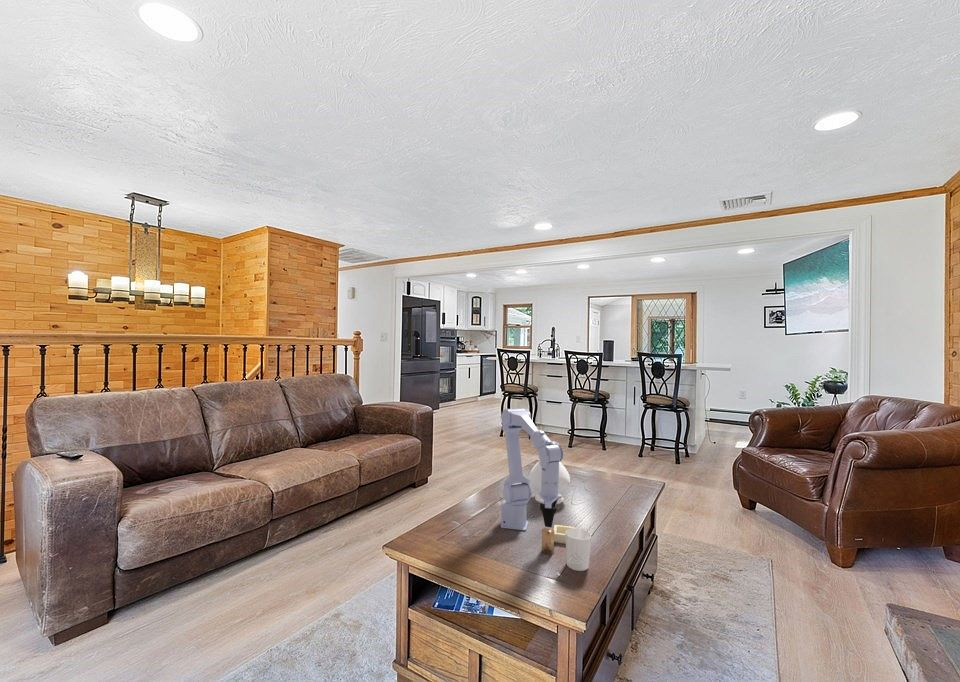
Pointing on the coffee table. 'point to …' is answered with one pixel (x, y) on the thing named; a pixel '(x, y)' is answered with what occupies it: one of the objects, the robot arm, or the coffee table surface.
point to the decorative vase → (537, 475)
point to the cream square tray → (560, 533)
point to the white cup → (578, 549)
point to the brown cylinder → (548, 541)
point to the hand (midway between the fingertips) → (549, 521)
